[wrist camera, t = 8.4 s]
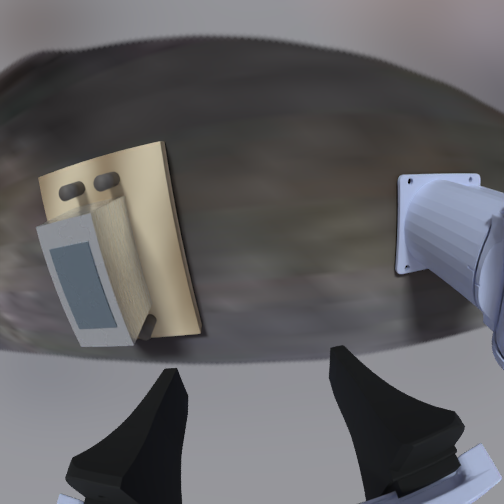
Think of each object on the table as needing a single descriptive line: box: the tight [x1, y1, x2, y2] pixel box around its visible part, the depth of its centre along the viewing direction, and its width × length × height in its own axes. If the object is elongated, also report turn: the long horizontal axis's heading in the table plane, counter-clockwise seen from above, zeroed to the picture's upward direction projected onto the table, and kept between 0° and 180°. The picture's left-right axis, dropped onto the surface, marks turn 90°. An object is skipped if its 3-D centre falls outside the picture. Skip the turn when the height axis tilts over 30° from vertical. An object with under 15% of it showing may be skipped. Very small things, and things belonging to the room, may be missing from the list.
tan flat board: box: [39, 141, 202, 341], centre depth 18 cm, size 10×14×3 cm
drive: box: [36, 196, 153, 347], centre depth 16 cm, size 4×8×5 cm, turn 7°
